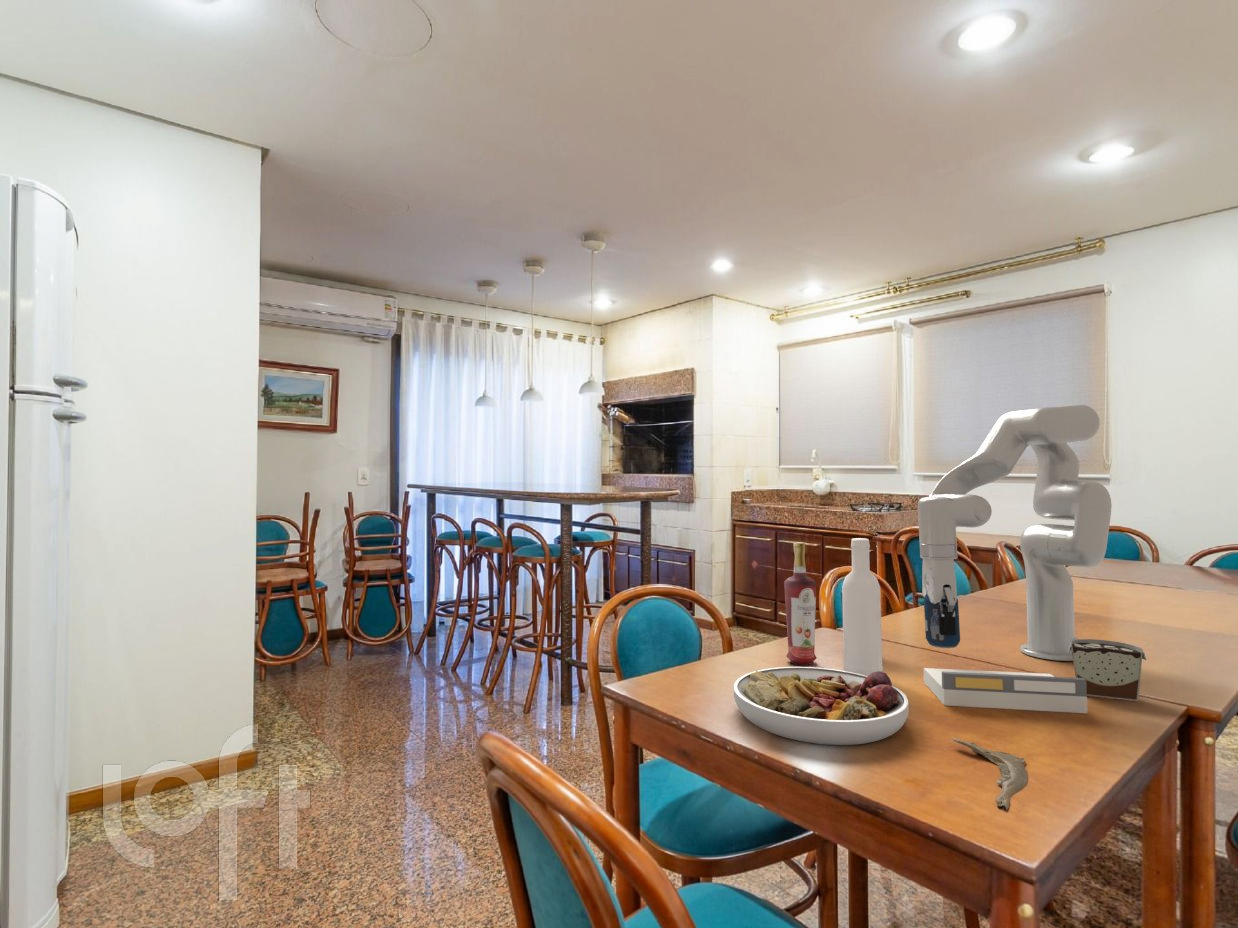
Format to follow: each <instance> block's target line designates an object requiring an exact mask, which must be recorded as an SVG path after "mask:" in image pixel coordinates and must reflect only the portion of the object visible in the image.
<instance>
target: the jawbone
mask: <svg viewBox="0 0 1238 928" xmlns="http://www.w3.org/2000/svg"><path fill="white" fill-rule="evenodd" d="M951 740H952V741H953V742H955V743H957V744H960V745H963V746H965V747H968V748H970V749H971V752H973V753H975V754H980V755H982V756H983V757H984V758H985V759H987V760H988V761H990V762H991V763H993V764H994V765H996V766H998V769H999V772H1000V776H1001V777H1000V778H999V779H998V780H996V784H997V785H998V786H1001V790H1000V793H999V795H997V796H996V798H995V801H996V803H997V804H996V806H997V808H999V809H1000V810H1003V811H1007V810H1009V808H1010V802H1011V798H1012V797H1013V796H1014V795H1015V794H1017V793H1019V792H1020V791H1022V790H1023V789H1024V788H1025V787H1026V786H1027V785H1028V784H1029V774H1028V771H1027V769H1026V768H1025V767H1026V766H1025V765H1026V764H1027V762H1026V760H1025V759H1024V758H1023V757H1021V756H1017V755H1016V754H1012V753H1010V752H1004V751H997V750H992V749H987V748H984V747H981V746H980V745H978V744H977V743H975V742H973V741H970V742H968V741H965V740H962V739H959V738H956V737H952V739H951ZM1001 807H1002V808H1001Z"/></svg>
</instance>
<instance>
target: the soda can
mask: <svg viewBox="0 0 1238 928" xmlns="http://www.w3.org/2000/svg"><path fill="white" fill-rule="evenodd" d="M927 593H928V592H927V591H926V595H925V597H923V611H924V627H925V628H924V629H925V640H926V642H927V643H928V645H930V646H932V647H935V648H941V649H953V648H957V647H958V645H959V644H960V642H961V632H960V631H961V630H960V629H961V628H960V613H959V599H958V598H957V602H956V603H955V607H954V608H955V609H954V610H955V625H956V635H941V634H940V633H939V616H940V611H939V605H938V604H939V602H937V604H933V603H931V602H930V599H929V596H928V594H927ZM941 602H946V599H941ZM944 607H945V606H943V611H944Z"/></svg>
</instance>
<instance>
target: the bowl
mask: <svg viewBox="0 0 1238 928" xmlns="http://www.w3.org/2000/svg"><path fill="white" fill-rule="evenodd" d="M733 698H734V702H735V703H736V704H735V705H736V706H737V708H738V710H739V711H740V712H741V714H742V715H743V716H744V717H745V718H746V719H747V720H748V721H750V722H751V723H752V724H754V725H755V726H756V727H758V728H760V729H762V730H763V731H767V732H769V733H770V734H774V735H777V736H780V737H783V738H786V739H790V740H794V741H798V742H803V743H810V744H815V745H816V744H817V745H826V746H827V745H828V746H853V745H864V744H868V743H869V744H870V743H875V742H877V741H880V740H884V739H886V738H889V737H890V736H893V734H895V733H897V732H898V731H899V730H900V729H901V728H902V727H903V726H904V724H905V722H906V721H907V719H908V715H909V710H910V709H909V707H910V705H909V699H908V697H907V695H906V694H905V692H903V691H902V690H901V689H899V688H898V687H896V686H894V685H892V681H891V678H890V677H889V676H888V674H887V673H886V672H884V671H883V672H881V671H877V672H873V673H871V674H870V675H868V676H865V675H862V674H857V673H853V672H848V671H844V670H843V669H842V670H841V669H832V668H825V667H816V666H815V667H813V666H783V667H772V668H764V669H759V670H755V671H751V672H749V673H746V674H744V675H742V676H740V677H738V678H737V680H735V681H734V684H733Z"/></svg>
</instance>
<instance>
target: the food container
mask: <svg viewBox="0 0 1238 928" xmlns="http://www.w3.org/2000/svg"><path fill="white" fill-rule="evenodd" d="M1071 650H1072V656H1073V661H1072V662H1073V668H1074V669H1073V670H1074V675H1075V678H1084V679H1085V680H1086V688H1087V697H1096V698H1104V697H1106V698H1107V699H1114V698H1119V699H1118V700H1123V699H1124V700H1125V699H1126V700H1125V701H1132V700H1135V701H1134V702H1139V695H1140V686H1141V685H1140V683H1141V674H1142V662H1143V660H1145V661H1147V657H1146V654H1145V652H1144V650H1143V648H1141V647H1139V646H1136V645H1133V644H1129V643H1125V642H1120V641H1115V640H1105V639H1094V638H1093V639H1092V638H1079V639H1077V640H1073V641H1071V644H1070V645H1069V649H1068V653H1070V651H1071ZM1106 698H1105V699H1106Z"/></svg>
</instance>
